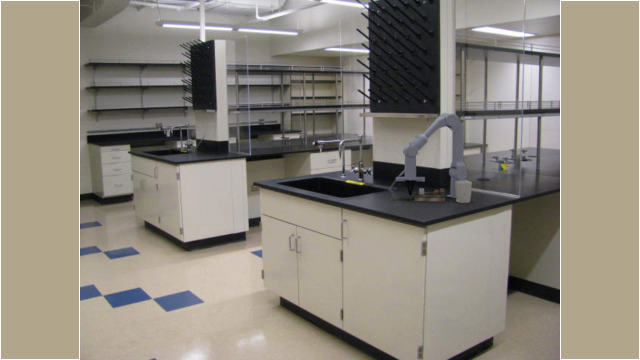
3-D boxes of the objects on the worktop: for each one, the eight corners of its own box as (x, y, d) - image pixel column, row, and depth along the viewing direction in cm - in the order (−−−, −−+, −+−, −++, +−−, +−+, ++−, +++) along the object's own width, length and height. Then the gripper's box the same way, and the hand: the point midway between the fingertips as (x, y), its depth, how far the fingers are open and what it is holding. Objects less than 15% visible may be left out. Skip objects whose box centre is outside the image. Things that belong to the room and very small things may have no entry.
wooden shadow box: (414, 201, 258) (414, 191, 257) (414, 197, 267) (414, 188, 266) (445, 201, 255) (445, 191, 255) (444, 198, 264) (444, 188, 263)
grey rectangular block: (419, 196, 259) (419, 190, 258) (419, 194, 265) (419, 188, 264) (424, 196, 259) (424, 190, 258) (423, 194, 264) (423, 188, 264)
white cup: (473, 201, 255) (473, 181, 254) (469, 203, 248) (469, 183, 247) (457, 199, 259) (457, 180, 258) (453, 202, 252) (453, 182, 251)
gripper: (395, 169, 258) (395, 196, 260) (425, 170, 255) (424, 196, 257) (396, 168, 265) (396, 193, 267) (424, 168, 262) (424, 194, 264)
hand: (410, 195), depth 263 cm, fingers closed
